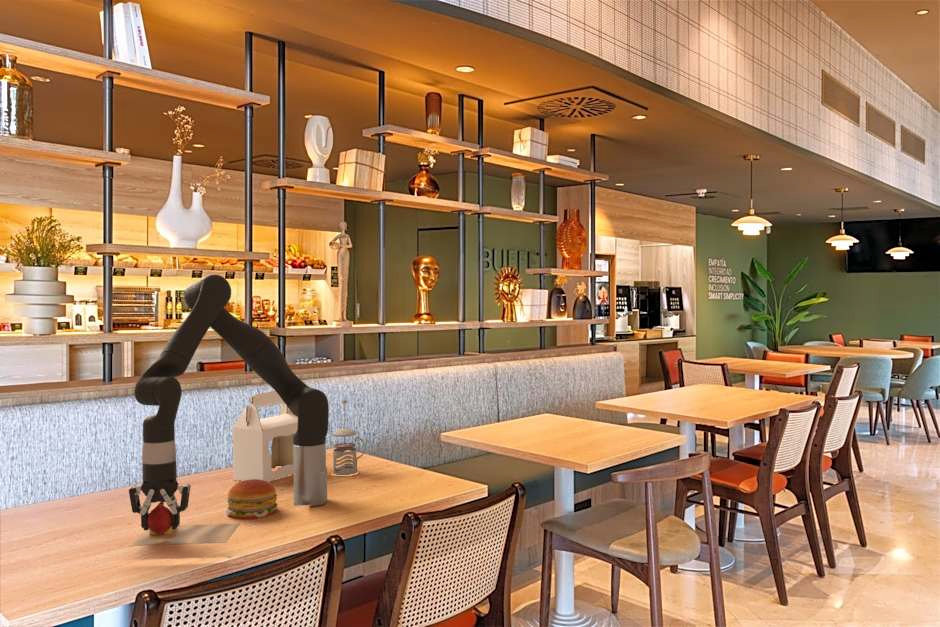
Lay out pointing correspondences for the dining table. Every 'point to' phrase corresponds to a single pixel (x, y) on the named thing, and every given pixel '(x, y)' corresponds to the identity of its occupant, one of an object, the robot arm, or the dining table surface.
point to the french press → (342, 447)
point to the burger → (251, 499)
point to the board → (190, 535)
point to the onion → (160, 519)
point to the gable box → (263, 441)
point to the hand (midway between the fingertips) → (160, 528)
